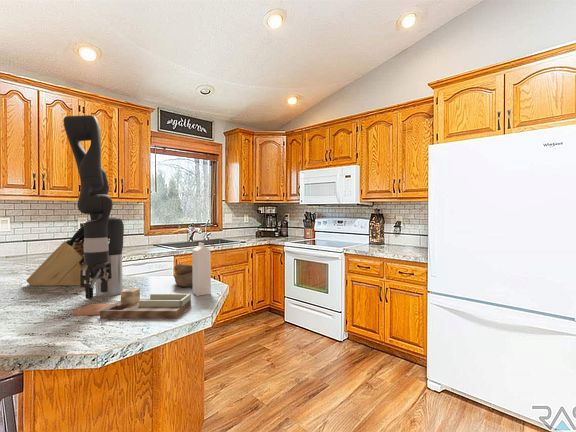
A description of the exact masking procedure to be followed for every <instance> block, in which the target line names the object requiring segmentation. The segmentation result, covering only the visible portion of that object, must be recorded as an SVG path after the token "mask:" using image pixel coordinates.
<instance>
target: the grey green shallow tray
mask: <svg viewBox="0 0 576 432" xmlns="http://www.w3.org/2000/svg"><path fill="white" fill-rule="evenodd" d="M149 295H150V296H149V299H150V300H139V307H182V306H183V305H184V304H186V303H187V302H188V301H189V300H191V301H192V293H150V294H149Z"/></svg>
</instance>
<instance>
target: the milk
mask: <svg viewBox="0 0 576 432" xmlns="http://www.w3.org/2000/svg"><path fill="white" fill-rule="evenodd" d="M191 250H192V251H191V261H192V262H191V263H192V264H191V265H192V285H193V286H192V294H193V295H195V296H196V297H199V296H205V295H211V294H212V288H211V287H212V284H211V283H212V280H211V279H212V278H211V277H212V276H211V275H212V273H211V272H212V271H211V270H212V268H211V267H212V266H211V265H212V264H211V263H212V261H211V256H212V255H211V254H212V253H211V249H209V248H207V247H205V243H204V242H200V241H199V242H198V246H196V247H194V248H193V249H191Z"/></svg>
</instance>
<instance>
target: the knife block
mask: <svg viewBox="0 0 576 432" xmlns="http://www.w3.org/2000/svg"><path fill="white" fill-rule="evenodd" d="M109 242H110V239H108V243H109ZM87 267H88V266H87V265H86V264H84V225H82V226H81V227H80V228H78V230H77V231H76V232H75V233H74V234H73V235H72V237H71V238H70V239H68V240H65V241H63V242H62V243H61V244H60V245H59V246H58V247H57V248H55V250H54V251H52V253H51V254H50V255H49V256H48V257H47V258H46V259H45V260H44V261H43V262H42V263H41V265H39V266H38V267H37V268H36V269H35V270H34V271H33V273H32V274H30V275H29V277H28V278H27V279H26V280H25V281H26V283H28V285H30V286H34V287H38V286H77V287H78V286H79V287H80V271H81V270H87ZM90 279H91V278H90ZM85 282H86V281H85V280H84V284H85Z"/></svg>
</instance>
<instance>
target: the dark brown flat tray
mask: <svg viewBox="0 0 576 432" xmlns="http://www.w3.org/2000/svg"><path fill="white" fill-rule="evenodd" d="M140 300H150V298H140ZM112 304H113V305H111V306H109V307H107V308H105V309H103V310H101V311H100V315H99V319H148V320H149V319H151V320H152V319H153V320H154V319H159V320H160V319H166V320H167V319H168V320H169V319H171V320H172V319H173V320H174V319H175V320H177V319H178V318H179V317H180V316H182V314H184V313H185V312H186V311H187V310H188V309H189V308H190V307H192V299H191V300H189V301H188V302H187V303H186V304H184V305H183V306H182V307H139V301H138V302H137V303H135V304H121V300H119V301H117V302H114V303H112Z"/></svg>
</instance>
